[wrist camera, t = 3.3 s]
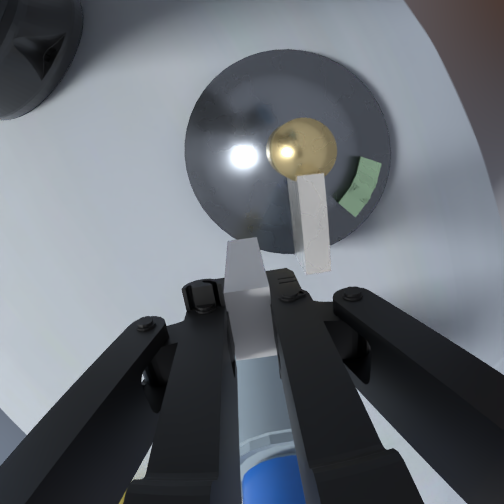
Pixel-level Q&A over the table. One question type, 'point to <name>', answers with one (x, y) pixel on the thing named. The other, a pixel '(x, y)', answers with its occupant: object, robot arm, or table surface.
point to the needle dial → (306, 186)
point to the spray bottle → (266, 436)
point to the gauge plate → (258, 132)
